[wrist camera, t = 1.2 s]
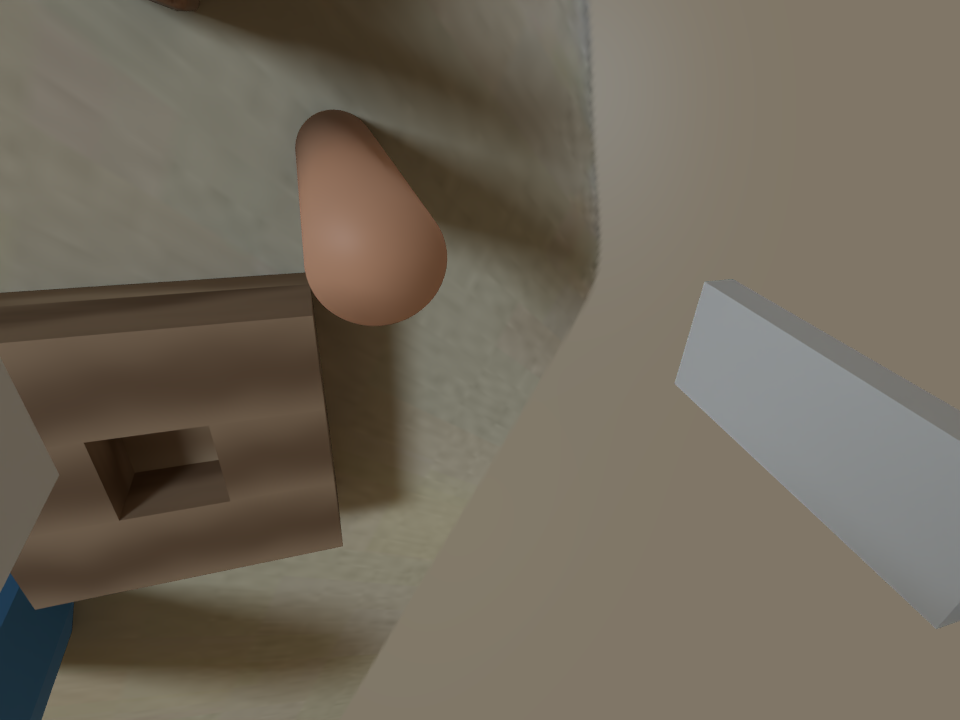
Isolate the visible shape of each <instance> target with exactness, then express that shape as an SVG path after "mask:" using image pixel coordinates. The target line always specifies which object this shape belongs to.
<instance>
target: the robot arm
mask: <svg viewBox="0 0 960 720" xmlns="http://www.w3.org/2000/svg"><path fill="white" fill-rule="evenodd" d="M675 384H676V386H678V387H679V388H680V389H681V390H682V391H683V392H684V393H685V394H686V395H687V396H688V397H689V398H690V399H691V400H692V401H694V402H695V403H696V404H697V405H698V406H699V407H700V408H701V409H702V410H703V411H704V412H705V413H706V414H707V415H709V416H710V417H711V418H712V419H713V420H714V421H715V422H716V423H717V424H718V425H719V426H720V427H721V428H722V429H723V430H725V431H726V432H727V433H728V434H729V435H730V436H731V437H732V438H733V439H734V440H735V441H736V442H737V443H738V444H739V445H740V446H742V447H743V448H744V449H745V450H746V451H747V452H748V453H749V454H750V455H751V456H752V457H753V458H754V459H755V460H757V461H758V462H759V463H760V464H761V465H762V466H763V467H764V468H765V469H766V470H767V471H768V472H769V473H770V474H772V476H774V477H775V478H776V479H777V480H778V481H779V482H780V483H781V484H782V485H783V486H784V487H785V488H786V489H788V491H790V492H791V493H792V494H793V495H794V496H795V497H796V498H797V499H798V500H799V501H800V502H801V503H802V504H803V505H804V506H806V507H807V508H808V509H809V510H810V511H811V512H812V513H813V514H814V515H815V516H816V517H817V518H818V519H819V520H820V521H822V522H823V523H824V524H825V525H826V526H827V527H828V528H829V529H830V530H831V531H832V532H833V533H834V534H835V535H837V536H838V537H839V538H840V539H841V540H842V541H843V542H844V543H845V544H846V545H847V546H848V547H849V548H850V549H852V551H854V552H855V553H856V554H857V555H858V556H859V557H860V558H861V559H862V560H863V561H864V562H865V563H866V564H867V565H869V566H870V567H871V568H872V569H873V570H874V571H875V572H876V573H877V574H878V575H879V576H880V577H881V578H882V579H883V580H884V581H886V582H887V583H888V584H889V585H890V586H891V587H892V588H893V589H894V590H895V591H896V592H897V593H898V594H900V596H902V597H903V598H904V599H905V600H906V601H907V602H908V603H909V604H910V605H911V606H912V607H913V608H914V609H915V610H917V611H918V612H919V613H920V614H921V615H922V616H923V617H924V618H925V619H926V620H927V621H928V622H929V623H931V625H933V626H934V627H935V628H936V629H938V628H941V627H944V626H947V625H949V624H952V623H955V622H957V621H960V411H959V410H958V409H956V408H954V407H952V406H951V405H949V404H947V403H946V402H944V401H942V400H941V399H939V398H937V397H935V396H934V395H932V394H930V393H928V392H927V391H925V390H923V389H921V388H920V387H918V386H916V385H915V384H913V383H911V382H909V381H908V380H906V379H904V378H903V377H901V376H899V375H897V374H896V373H894V372H892V371H890V370H888V369H887V368H885V367H883V366H882V365H880V364H878V363H877V362H875V361H873V360H872V359H870V358H868V357H866V356H865V355H863V354H861V353H859V352H858V351H856V350H854V349H853V348H851V347H849V346H847V345H846V344H844V343H842V342H841V341H839V340H837V339H835V338H833V337H832V336H830V335H828V334H827V333H825V332H823V331H822V330H820V329H818V328H816V327H814V326H813V325H811V324H809V323H808V322H806V321H804V320H803V319H801V318H799V317H797V316H796V315H794V314H792V313H790V312H789V311H787V310H785V309H784V308H782V307H780V306H778V305H777V304H775V303H773V302H771V301H770V300H768V299H766V298H764V297H763V296H761V295H759V294H758V293H756V292H754V291H752V290H751V289H749V288H747V287H746V286H744V285H742V284H740V283H739V282H737V281H735V280H733V279H728V280H718V281H706V282H704V285H703V289H702V292H701V296H700V299H699V302H698V306H697V309H696V312H695V316H694V319H693V323H692V326H691V329H690V333H689V336H688V340H687V343H686V347H685V350H684V353H683V357H682V360H681V363H680V367H679V370H678V374H677V377H676V381H675ZM58 477H59V473H58V471H57V469H56V467H55V465H54V463H53V461H52V459H51V457H50V455H49V453H48V451H47V449H46V447H45V445H44V443H43V441H42V439H41V437H40V435H39V433H38V431H37V429H36V427H35V425H34V423H33V421H32V419H31V417H30V415H29V413H28V411H27V409H26V407H25V405H24V404H23V402H22V400H21V398H20V396H19V394H18V392H17V390H16V388H15V386H14V384H13V382H12V380H11V378H10V376H9V374H8V372H7V370H6V368H5V366H4V364H3V362H2V360H1V358H0V592H1V590H2V588H3V586H4V584H5V582H6V580H7V578H8V576H9V574H10V572H11V570H12V568H13V566H14V564H15V562H16V560H17V558H18V556H19V554H20V552H21V550H22V548H23V546H24V544H25V542H26V540H27V538H28V536H29V534H30V532H31V530H32V528H33V526H34V524H35V522H36V520H37V518H38V516H39V514H40V512H41V510H42V508H43V506H44V504H45V502H46V500H47V498H48V496H49V494H50V492H51V490H52V488H53V486H54V484H55V482H56V480H57V479H58Z"/></svg>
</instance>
